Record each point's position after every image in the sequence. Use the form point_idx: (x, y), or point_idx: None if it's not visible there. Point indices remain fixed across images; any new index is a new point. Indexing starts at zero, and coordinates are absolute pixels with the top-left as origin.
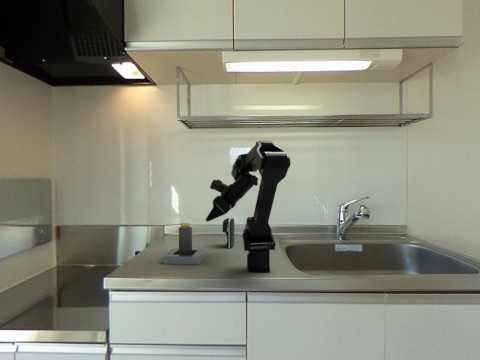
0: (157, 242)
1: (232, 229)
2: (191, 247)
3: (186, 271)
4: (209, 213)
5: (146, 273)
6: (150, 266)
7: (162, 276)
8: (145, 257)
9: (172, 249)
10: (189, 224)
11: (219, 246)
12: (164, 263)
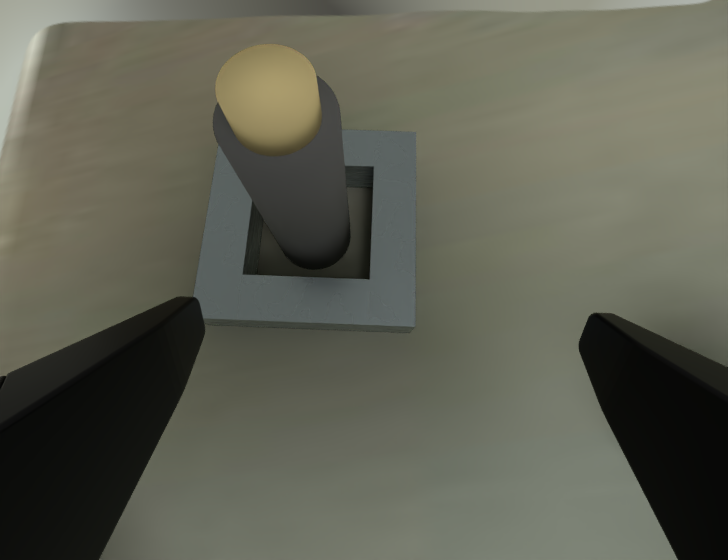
0: (699, 9)
1: None
2: (294, 243)
3: (84, 287)
4: (49, 357)
5: (79, 128)
6: (191, 112)
7: (21, 201)
8: (356, 48)
9: (382, 133)
10: (252, 132)
11: None
12: None
